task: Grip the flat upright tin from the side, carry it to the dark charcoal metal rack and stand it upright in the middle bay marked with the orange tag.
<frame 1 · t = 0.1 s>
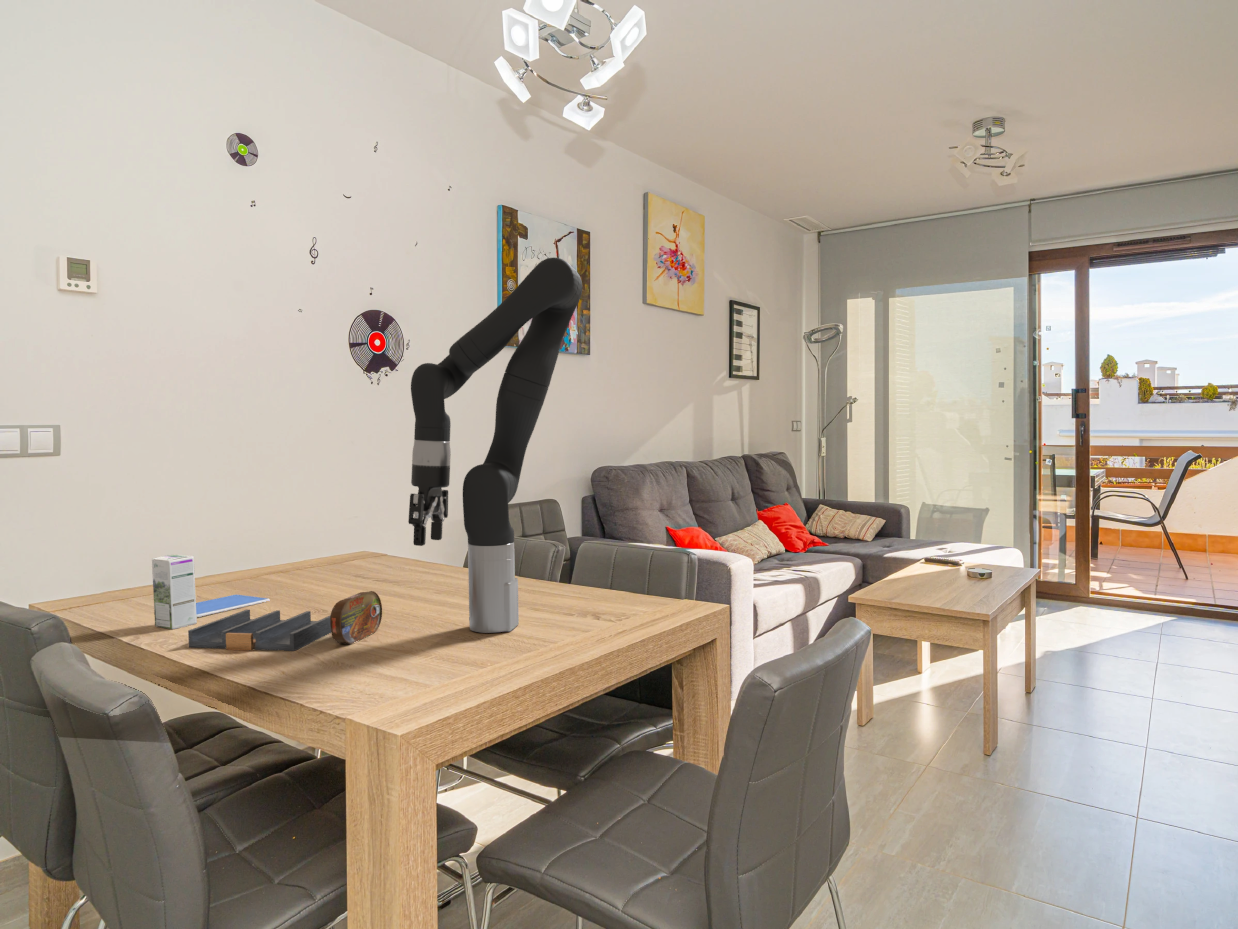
hand: (428, 542, 154), 17 cm above the table, tool pointing down, fingers open, 8 cm apart
rack: (268, 637, 148), on the table
tablet computer: (217, 610, 175), on the table
tin: (357, 639, 146), on the table
syrup box: (175, 626, 158), on the table
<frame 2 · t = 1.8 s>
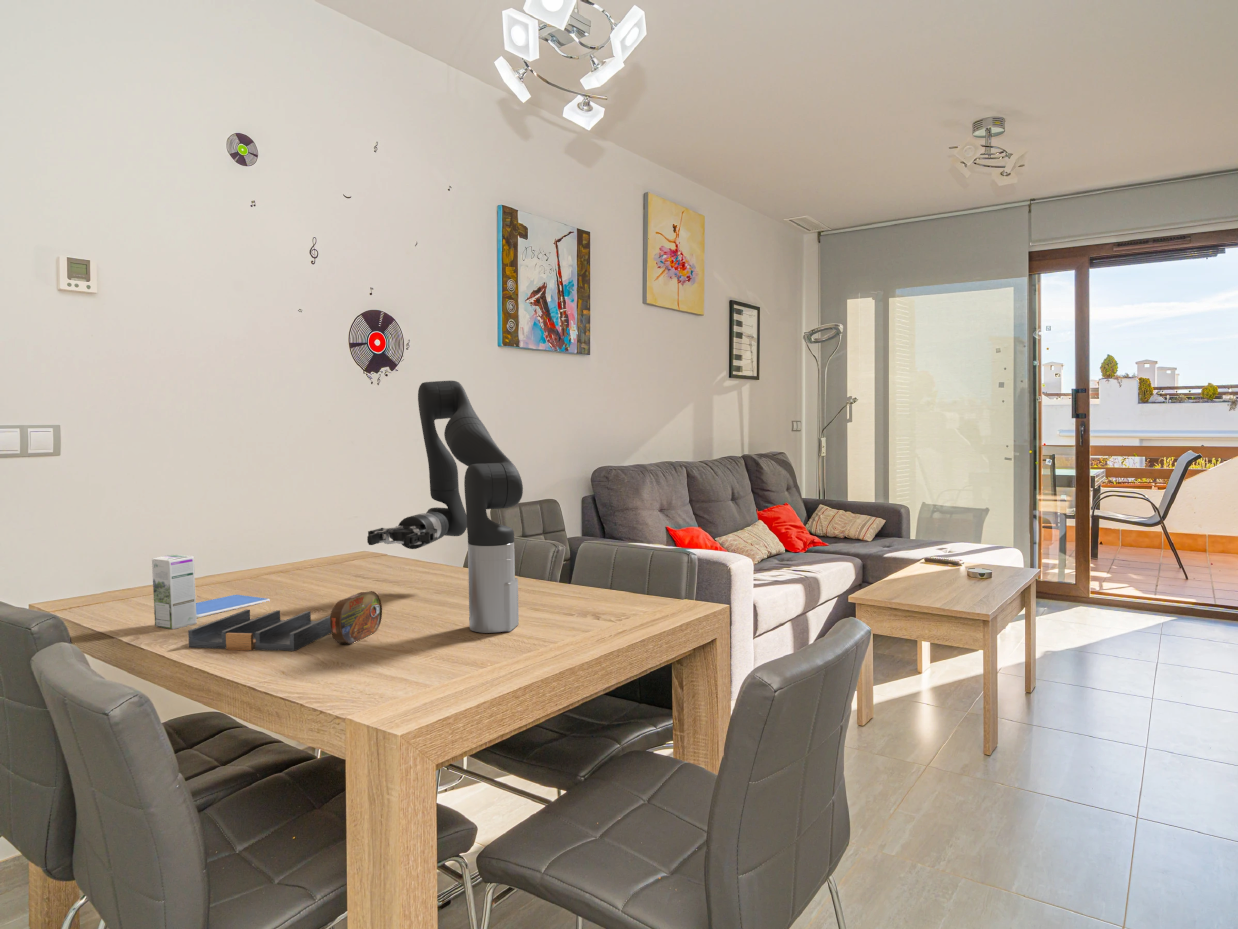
hand: (388, 540, 160), 17 cm above the table, tool horizontal, fingers open, 8 cm apart
nothing on the table moved.
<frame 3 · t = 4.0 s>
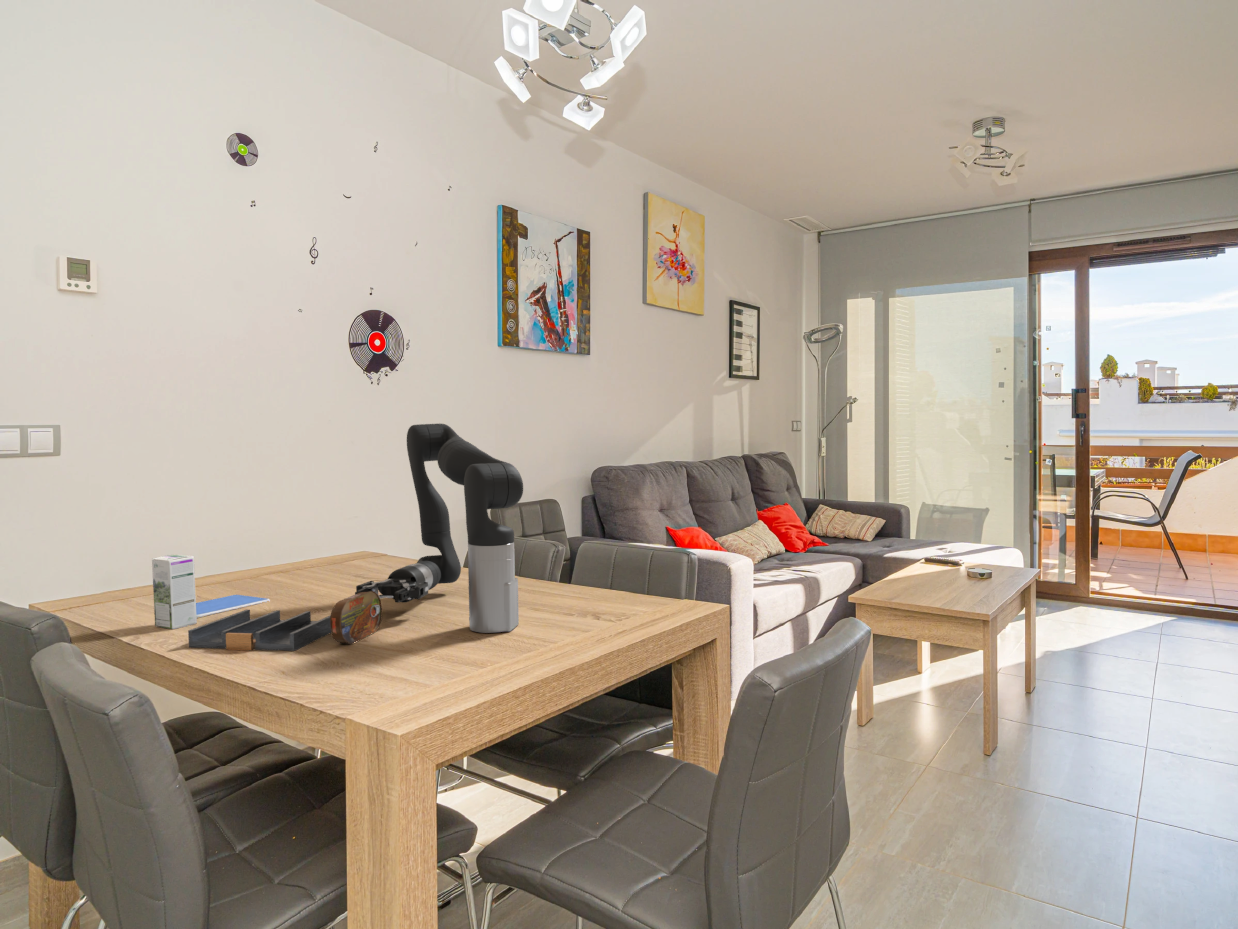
hand: (376, 597, 155), 6 cm above the table, tool horizontal, fingers open, 8 cm apart
nothing on the table moved.
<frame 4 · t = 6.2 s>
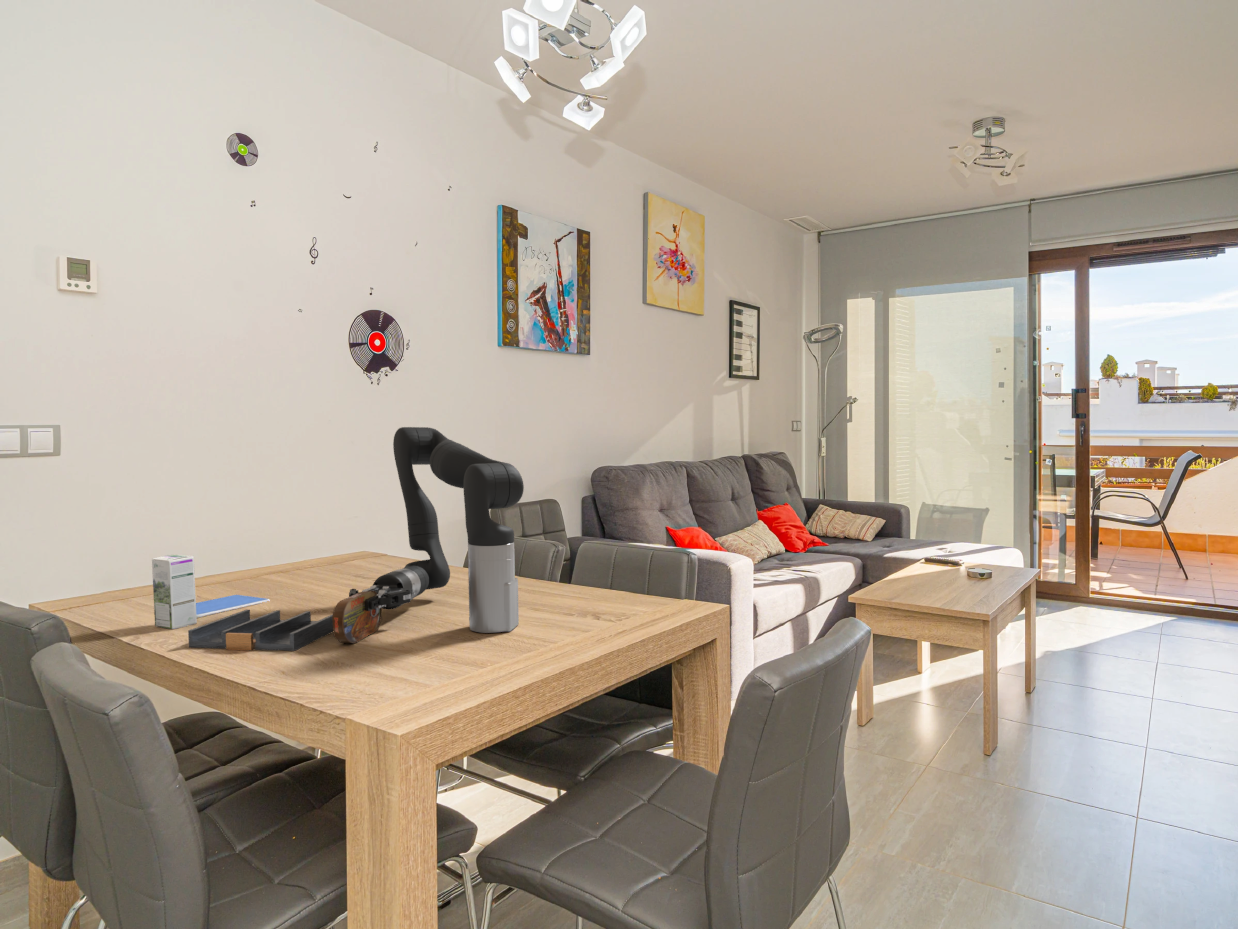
hand: (358, 605, 147), 6 cm above the table, tool horizontal, fingers closed on tin, 2 cm apart
tin: (357, 638, 146), on the table, touching gripper
everything else where it was.
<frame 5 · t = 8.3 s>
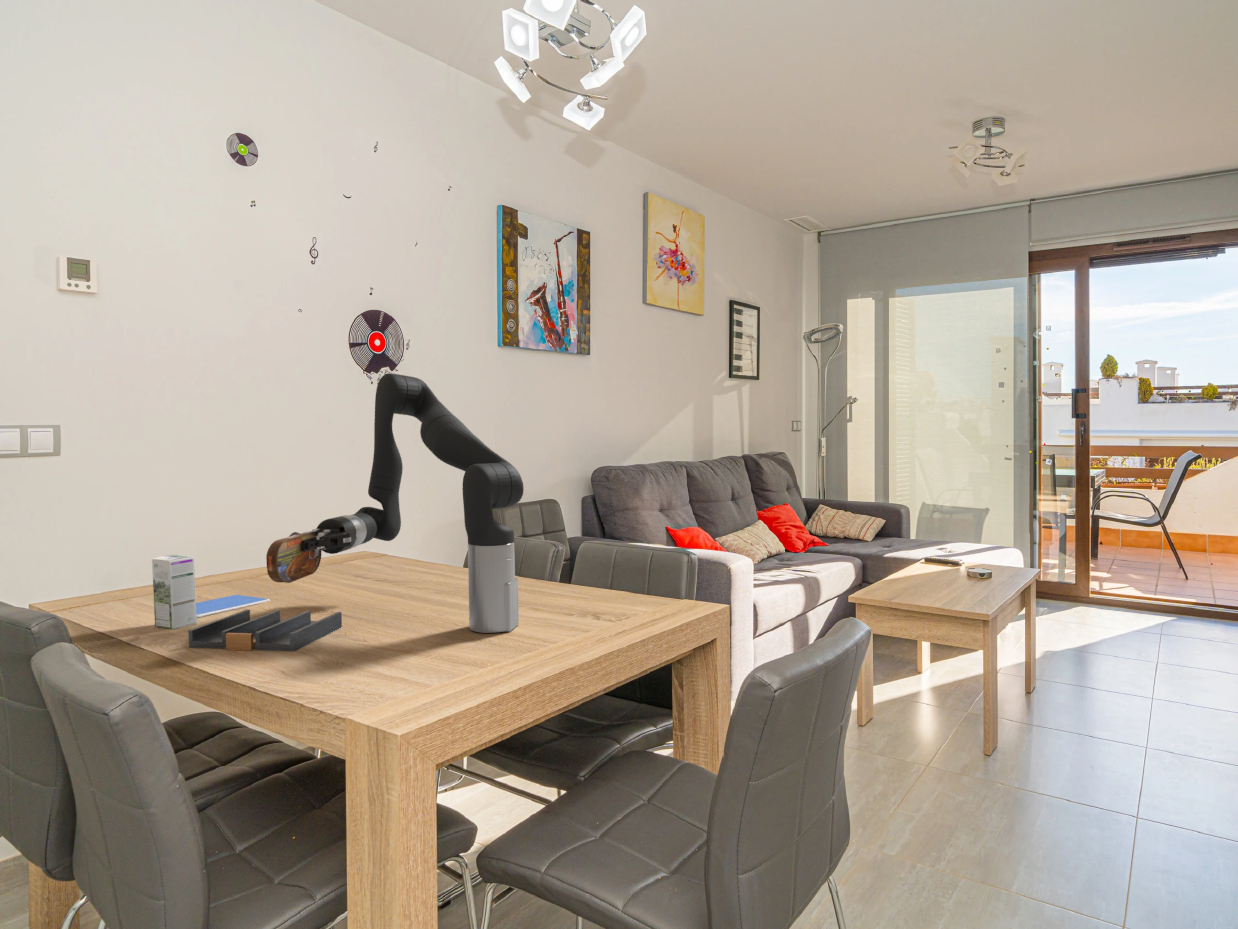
hand: (295, 546, 148), 18 cm above the table, tool horizontal, fingers closed on tin, 2 cm apart
tin: (294, 579, 148), point 11 cm above the table, touching gripper
everything else where it was.
when the fingers open (8 cm above the table, at t = 10.7 s): tin stays where it is, resting on rack.
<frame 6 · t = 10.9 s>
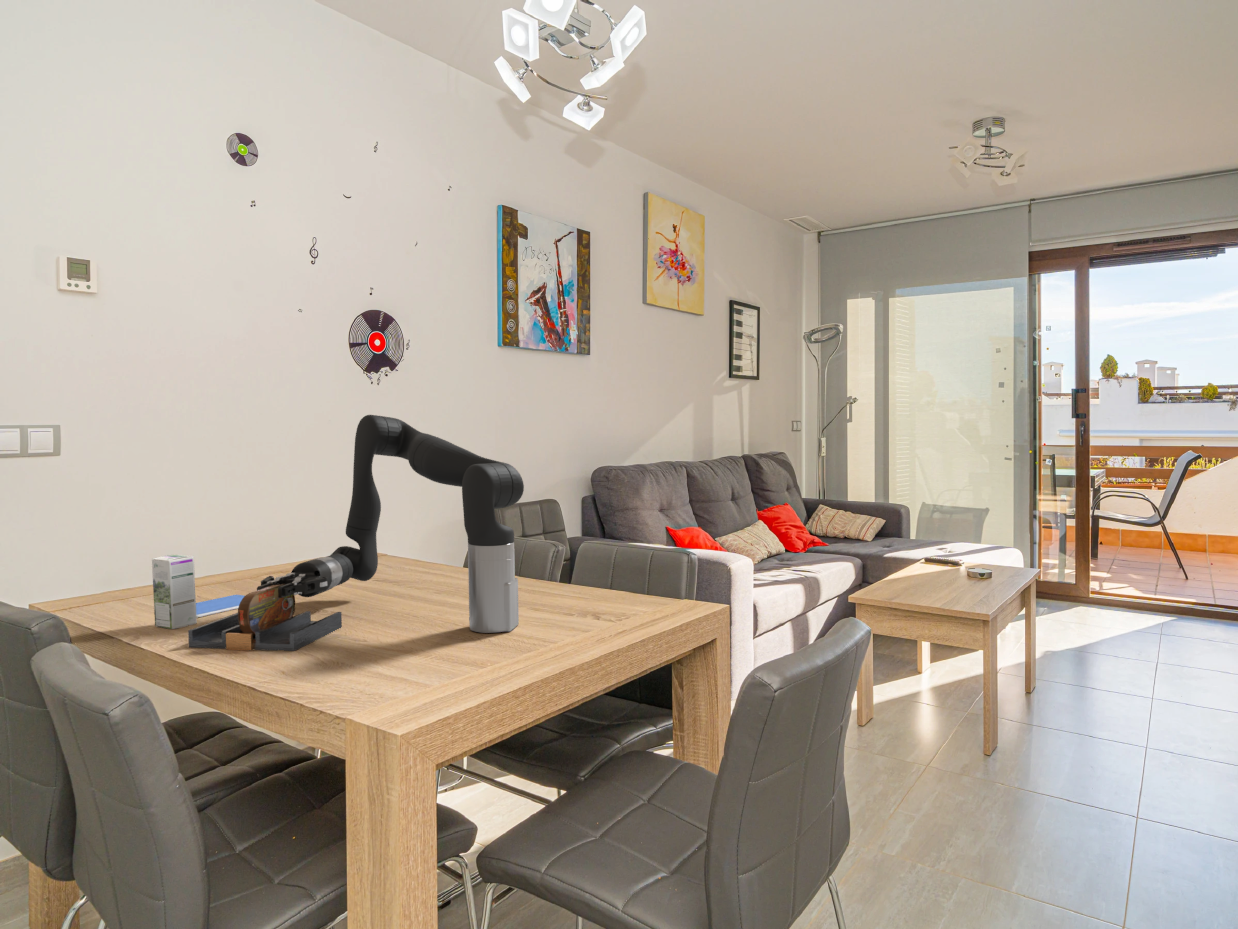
hand: (269, 592, 148), 9 cm above the table, tool horizontal, fingers open, 4 cm apart
tin: (267, 631, 148), point 1 cm above the table, touching gripper, rack
everything else where it was.
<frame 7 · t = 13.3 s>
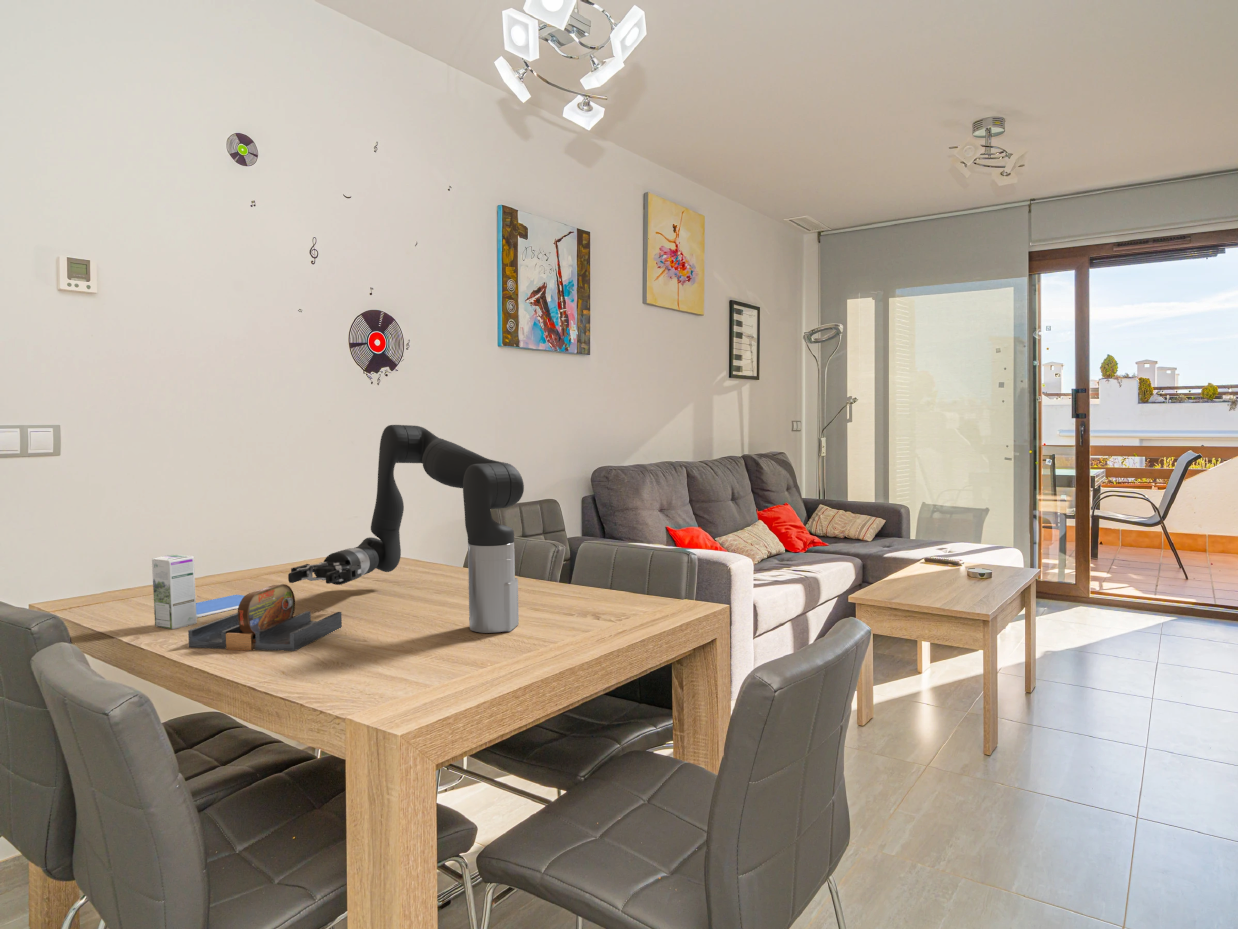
hand: (308, 578, 162), 9 cm above the table, tool horizontal, fingers open, 8 cm apart
tin: (267, 631, 148), point 1 cm above the table, touching rack
everything else where it was.
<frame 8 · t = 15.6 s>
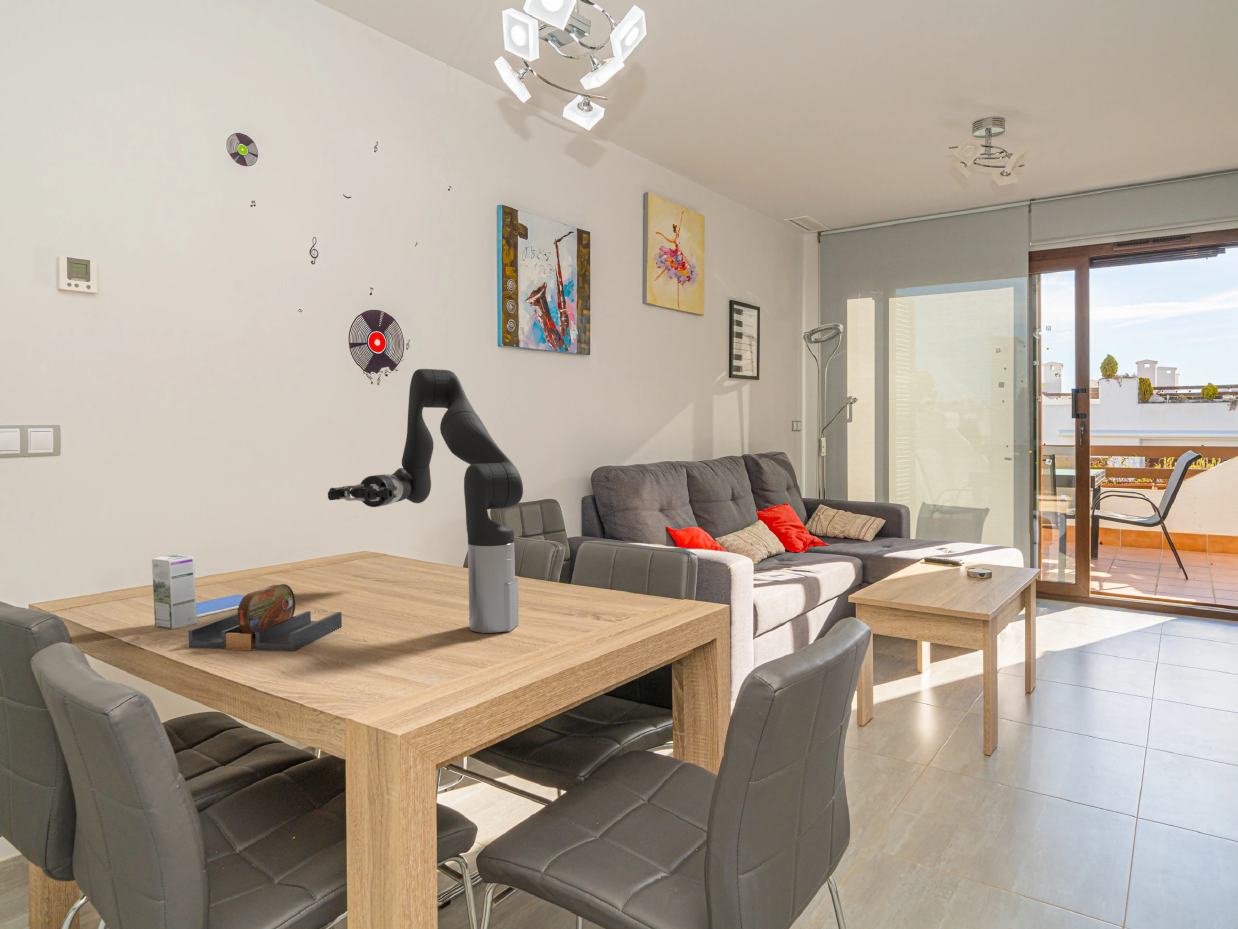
hand: (348, 495, 167), 26 cm above the table, tool horizontal, fingers open, 8 cm apart
nothing on the table moved.
at the end: tin 0.5 cm off-centre on the rack, point 1.0 cm above the rack's base; tin tilted 0°; the gripper is holding nothing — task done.
